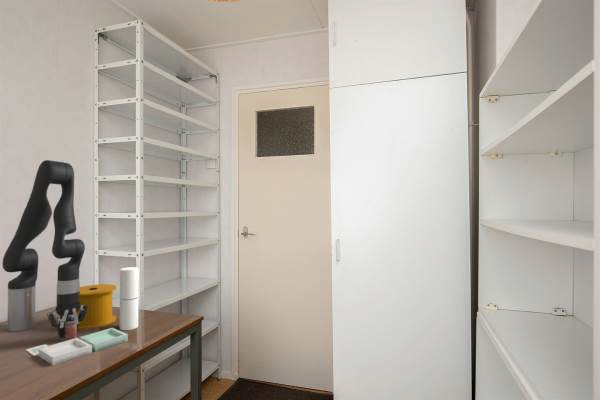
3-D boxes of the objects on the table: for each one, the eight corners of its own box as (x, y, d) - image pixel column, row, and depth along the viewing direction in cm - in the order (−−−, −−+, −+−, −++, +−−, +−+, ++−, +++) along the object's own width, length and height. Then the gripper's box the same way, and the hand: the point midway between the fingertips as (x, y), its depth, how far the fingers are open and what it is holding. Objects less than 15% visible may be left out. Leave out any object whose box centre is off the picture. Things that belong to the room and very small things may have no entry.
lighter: (79, 339, 135) (79, 313, 135) (71, 342, 132) (71, 316, 132) (64, 336, 138) (64, 311, 138) (56, 339, 134) (56, 313, 134)
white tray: (38, 355, 120) (38, 348, 120) (76, 344, 130) (76, 337, 130) (52, 365, 113) (52, 357, 113) (91, 352, 123) (91, 345, 123)
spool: (90, 314, 165) (90, 283, 165) (124, 316, 162) (125, 284, 162) (58, 328, 147) (58, 292, 147) (96, 330, 144) (96, 294, 144)
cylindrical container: (130, 330, 144) (131, 270, 144) (115, 329, 145) (116, 269, 146) (141, 324, 151) (142, 267, 151) (127, 323, 152) (127, 266, 153)
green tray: (79, 343, 131) (79, 337, 131) (112, 333, 141) (112, 327, 141) (94, 351, 124) (94, 344, 124) (127, 340, 134) (127, 334, 134)
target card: (25, 350, 125) (25, 349, 125) (45, 344, 129) (45, 343, 129) (34, 356, 120) (34, 355, 120) (54, 350, 125) (54, 349, 125)
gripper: (83, 286, 143) (83, 327, 143) (43, 293, 131) (42, 338, 131) (92, 288, 138) (92, 331, 138) (51, 296, 127) (50, 343, 127)
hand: (68, 335), depth 135 cm, fingers closed on lighter, 3 cm apart
